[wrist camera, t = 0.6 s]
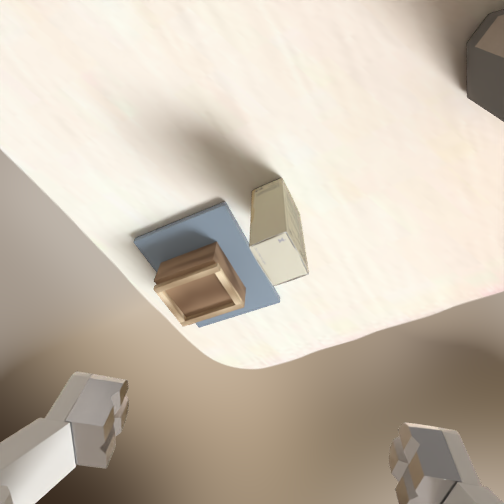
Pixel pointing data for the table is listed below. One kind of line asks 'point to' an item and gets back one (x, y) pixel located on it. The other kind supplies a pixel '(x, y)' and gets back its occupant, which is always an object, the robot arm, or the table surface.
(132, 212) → the table surface
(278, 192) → the skincare box
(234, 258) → the blue board
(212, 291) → the walnut tray
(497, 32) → the liquor
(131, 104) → the table surface
